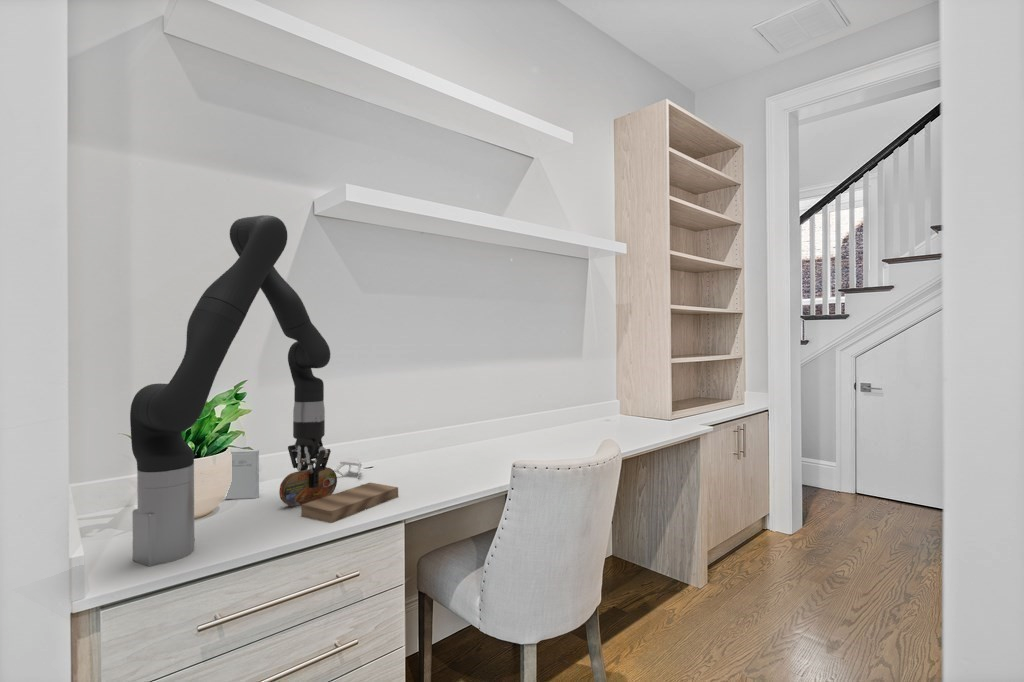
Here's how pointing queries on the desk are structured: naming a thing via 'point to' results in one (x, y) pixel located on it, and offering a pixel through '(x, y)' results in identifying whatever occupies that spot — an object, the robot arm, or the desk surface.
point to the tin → (306, 487)
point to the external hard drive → (244, 475)
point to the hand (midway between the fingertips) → (308, 486)
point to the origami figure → (349, 462)
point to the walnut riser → (348, 502)
